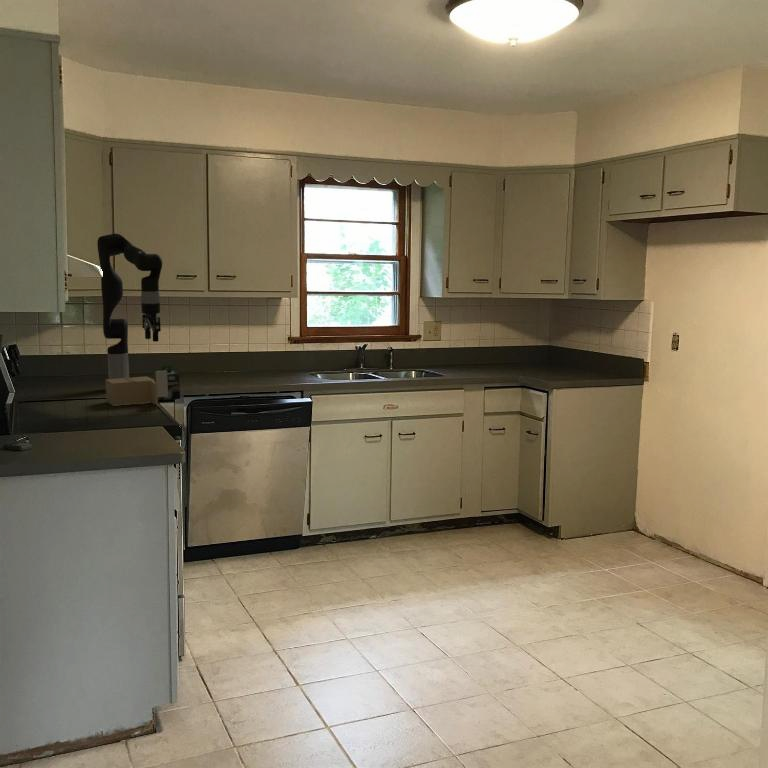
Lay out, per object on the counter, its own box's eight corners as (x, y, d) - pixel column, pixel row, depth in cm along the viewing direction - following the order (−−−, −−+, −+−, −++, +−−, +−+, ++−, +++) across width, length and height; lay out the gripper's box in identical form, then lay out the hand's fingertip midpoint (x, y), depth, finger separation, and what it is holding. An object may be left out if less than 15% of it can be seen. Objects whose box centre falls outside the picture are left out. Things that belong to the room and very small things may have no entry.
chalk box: (172, 395, 377) (171, 363, 375) (181, 398, 370) (180, 365, 368) (153, 397, 371) (151, 364, 369) (161, 400, 364) (160, 367, 362)
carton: (106, 402, 359) (105, 379, 357) (147, 398, 368) (147, 376, 367) (113, 406, 349) (112, 383, 347) (155, 403, 358) (154, 379, 357)
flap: (155, 406, 350) (154, 371, 347) (151, 403, 357) (150, 369, 354) (168, 405, 352) (167, 371, 350) (163, 402, 359) (162, 368, 357)
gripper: (135, 300, 351) (137, 338, 354) (148, 303, 340) (149, 342, 343) (152, 300, 355) (154, 337, 358) (165, 303, 344) (166, 341, 347)
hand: (151, 340), depth 350 cm, fingers open, 8 cm apart
